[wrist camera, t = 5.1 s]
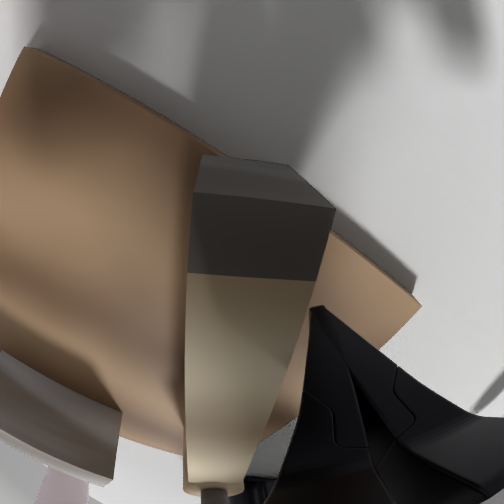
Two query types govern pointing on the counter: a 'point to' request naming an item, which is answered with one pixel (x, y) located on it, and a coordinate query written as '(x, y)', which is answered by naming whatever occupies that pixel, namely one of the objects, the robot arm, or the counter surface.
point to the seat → (119, 274)
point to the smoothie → (62, 489)
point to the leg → (244, 307)
